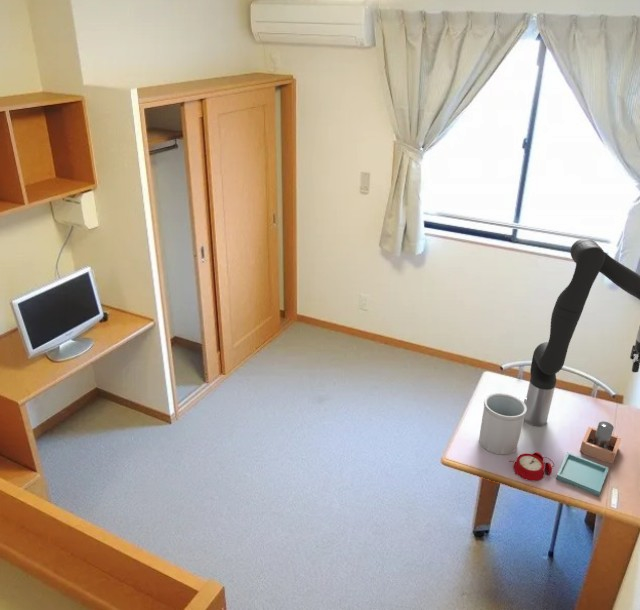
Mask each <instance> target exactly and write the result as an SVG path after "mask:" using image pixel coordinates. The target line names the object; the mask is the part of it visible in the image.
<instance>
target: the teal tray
mask: <svg viewBox="0 0 640 610" xmlns="http://www.w3.org/2000/svg"><path fill="white" fill-rule="evenodd" d="M609 469H610V468H609V467H607V466H605V465H603V464H599V463H597V462H594V461H592V460H589V459H587V458H584V457H581V456H580V455H576V454H574V453H570V452H566V454H565V456H564V458H563V461H562V463H561V466H559V469H558V471H557V474H556V477H555V480H558V481H559V482H562V483H565V484H567V485H569V486H572V487H575V488H577V489H580V490H582V491H585V492H587V493H589V494H592V495H594V496H597V497H599V496H600V494H601V491H602V489H603V485H604V482H605V480H606V477H607V474H608V471H609Z"/></svg>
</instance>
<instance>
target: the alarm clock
mask: <svg viewBox="0 0 640 610" xmlns="http://www.w3.org/2000/svg"><path fill="white" fill-rule="evenodd" d="M544 458H545V459H548V460H549V461H551V463H552V464H553V465H551V463H550V462H544ZM508 462H509V463H513V467H512V469H513V471H514V474H515V476H519V477H520V478H522V479H523V480H525V481H529V482H530V481H531V482H537V481H540V480H541V481H542V479H543V478H544V476H545V472H547V473H548V474H547V476H550V475H551V474H552V471H553V469H554V467H555V463H554V461H553V460H552V459H551V458H549V457H547V456H543V455H542V454H541V453H540V452H533V453H521V454H519V455H518V456H517V457H516V461H514V460H513V461H512V460H509V461H508Z"/></svg>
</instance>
